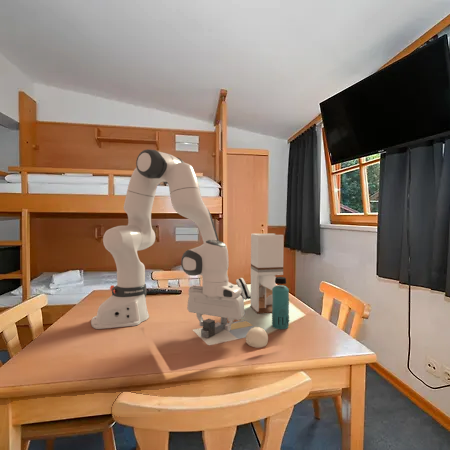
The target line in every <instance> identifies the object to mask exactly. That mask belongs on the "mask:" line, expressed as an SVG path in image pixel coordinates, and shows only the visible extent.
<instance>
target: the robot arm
mask: <svg viewBox="0 0 450 450" xmlns="http://www.w3.org/2000/svg"><path fill="white" fill-rule="evenodd" d="M135 164H136V165H135V166H136V167H135V168H134V170H133V172H132V174H131V176H130V179H129V181H128V185H127V190H126V194H125V199H124V203H123V211H124V212H125V213H126V214H127V219H128V220H127V222H128V223H127V224H126V225H117V226H114V227H111V228H109V229H107V230H106V231H105V232H104V234H103V236H102V242H103V243H102V244H103V246H104V248H105V250H107V251H108V252H109V253H110V255H111V256H112V258H113V260H114V263H115V266H116V278H117V279H116V284H115V285H110V287H109V290H110V291H111V295H110V296H109V297H108V298H107V299H106V300H104V301H103V302H102V303H101V304H100V305H99V307H98V308H97V313H96V315H95V316H93V317H92V318H91V320H90V324H91V325H90V326H91V327H92V328H93V329H96V330H103V329H111V328H112V329H113V328H122V327H135V326H138V325H140V324H141V323H142V322H144V321H146V320H148V319H149V318H150V314H149V312H148V307H147V299H146V298H147V284H146V266H145V264H144V263H143V262H141V260H140V258H139V255H138V251H143V250H146V249H148V248H149V247H151V246H153V245H154V244H155V241H156V233H155V230H154V229H153V227H152V212H153V206H154V202H155V197H156V191H157V187H158V185H160V184H161V183H163V184H164V185H167V184H168V185H167V186H168V188H169V195H170V202H171V205H172V208H173V210H174V211H175V212H176V213H177V214H178V215H180V216H182V217H184V218H186V219H188V220H190V221H192V222H193V223H194V224H195V225H196V226H197V227H198V230H199V232H200V236H201V239H202V242H203V243H202V244H201V245H199V246H196V247H193V248H189V249H187V250H185V251H184V252H183V253H182V256H181V262H180V264H181V268H182V270H183V272H184V273H185V274H186V275H188V276H192V277H193V276H194V277H195V276H196V277H197V276H202V285H200V286H199V285H191V286H190V287H188V293H187V294H188V299H187V310H188V312H189V313H193V314H196V319H197V320H198V321H199V323H198V324H199V327H203V321H204V320H205V319H204V318H203V315H206V316H211V317H217V318H221V317H223V318H227V322H228V323H229V324H226V325H225V331H230V330H231V324H232V323H233V322H235V320H237V321H241V320H242V319H243V317H244V316H245V302H244V297H243V296H242V294H241V293H242V289H241V288H240V287H238V285H237V284H234V283H232V282H230V281H229V276H228V269H229V250H228V247H227V244H226V243H225V242H223V241H221V240H219V236H218V233H217V229H216V227H215V224H214V220H213V217H212V214H211V212H210V210H209V208H208V207H207V205H206V204H205V203H204V200H203V197H202V194H201V190H200V185H199V180H198V178H197V175H196V173H195V170H194V167H193V166H192V165H191V164H189V163H188V162H187V163H186V162H185V161H183V159H181V158H179V157H176V156H174V155H172V154H170V153H167V152H162V151H159V150H156V149H152V148H151V149H150V148H149V149H143V150H142V151H141V152H140V153H139V154H138V155H137V157H136V162H135Z"/></svg>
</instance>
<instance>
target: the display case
mask: <svg viewBox="0 0 450 450" xmlns="http://www.w3.org/2000/svg"><path fill="white" fill-rule="evenodd" d="M284 237H285V236H284V234H276V233H251V234H250V293H251V296H250V308H251V309H252V310H253V311H255V313H256V314H257V315H259V314H260V315H263V314H272V289H273V287H275V286H277V283H275V278H276V277H277V276H283V275H284V250H285V249H284V245H285V243H284V242H285V240H284Z"/></svg>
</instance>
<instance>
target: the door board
mask: <svg viewBox="0 0 450 450" xmlns="http://www.w3.org/2000/svg"><path fill="white" fill-rule="evenodd" d="M220 323H223V331H221V332H219V333H217V334H215V335H213V336H211V337H209V338H204V337H201V329H203V327H199V328H194V329H192V332H194V333H195V334H196V335H197V336H198V337H199V339H200V340H202V341H203V342H204V343H205V344H206V345H207V346H213V345H218V344H223V343H226V342H227V343H228V342H231V341H237V340H240V339H246V334H247V333H248V331H249V330H250V329H251V328H253V327H255V326H254V325H253V324H252V323H250V322H248V321H246V320H245V319H243V320H242V319H241V320H237V321H233V323H232V324H231V330H230V331H225V325H226V324H229V322H228V318H223V317H220Z"/></svg>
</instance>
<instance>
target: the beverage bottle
mask: <svg viewBox="0 0 450 450" xmlns="http://www.w3.org/2000/svg"><path fill="white" fill-rule="evenodd" d="M275 277H276V278H275V283H276V286H275V287H273V289H272V313H271V326H272V328H274V329H277V330H286V329H288V328H289V326H290V325H289V323H290V316H289V314H290V294H289V293H290V292H289V291H290V290H289V288H288V287H287V286H286V284H287V278H286V277H284V276H275Z"/></svg>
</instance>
